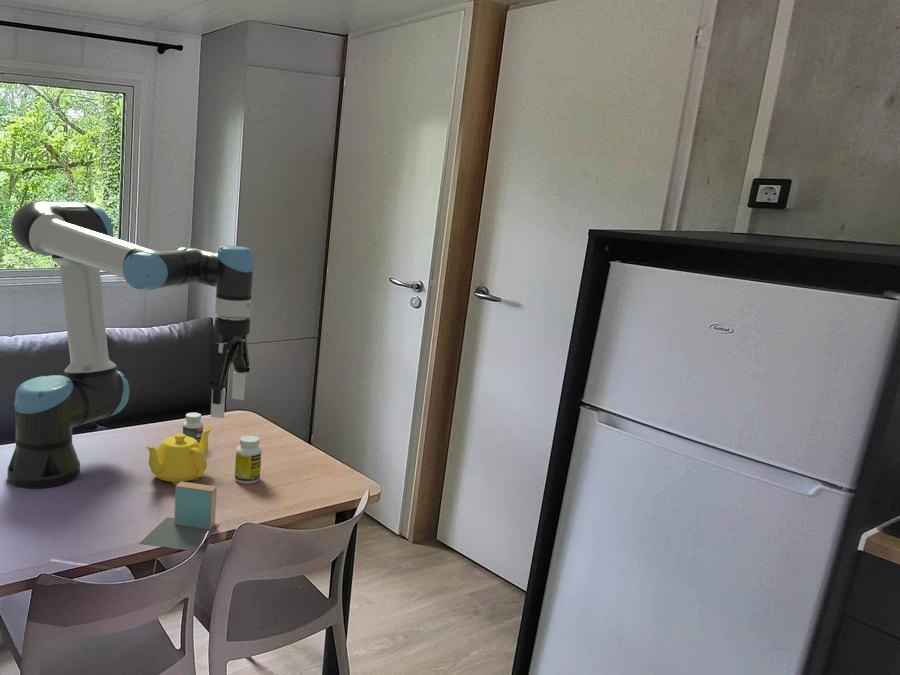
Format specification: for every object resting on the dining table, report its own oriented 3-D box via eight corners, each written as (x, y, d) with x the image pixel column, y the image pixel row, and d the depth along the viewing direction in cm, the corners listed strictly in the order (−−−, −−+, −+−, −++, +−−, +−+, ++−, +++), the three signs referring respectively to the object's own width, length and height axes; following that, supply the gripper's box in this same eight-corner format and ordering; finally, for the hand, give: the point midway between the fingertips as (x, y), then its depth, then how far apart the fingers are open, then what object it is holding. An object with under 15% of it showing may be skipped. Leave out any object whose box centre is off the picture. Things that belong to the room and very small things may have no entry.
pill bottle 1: (198, 449, 196) (199, 418, 194) (179, 447, 196) (180, 416, 194) (204, 442, 201) (206, 412, 199) (186, 440, 201) (187, 410, 199)
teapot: (168, 501, 165) (169, 455, 162) (125, 483, 171) (126, 438, 169) (233, 476, 182) (235, 433, 180) (192, 460, 189) (194, 419, 186)
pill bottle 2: (252, 486, 177) (255, 444, 175) (229, 482, 178) (232, 440, 176) (264, 477, 183) (266, 436, 181) (242, 473, 184) (244, 432, 182)
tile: (174, 524, 154) (175, 486, 152) (179, 519, 156) (180, 481, 154) (210, 530, 153) (211, 491, 151) (214, 524, 156) (216, 486, 154)
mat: (139, 545, 145) (139, 543, 145) (166, 518, 157) (166, 517, 157) (196, 553, 144) (196, 551, 144) (219, 526, 156) (219, 524, 156)
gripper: (230, 329, 146) (225, 427, 150) (266, 309, 170) (260, 394, 175) (194, 325, 146) (190, 423, 150) (235, 305, 170) (230, 390, 175)
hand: (228, 407), depth 162 cm, fingers open, 13 cm apart
